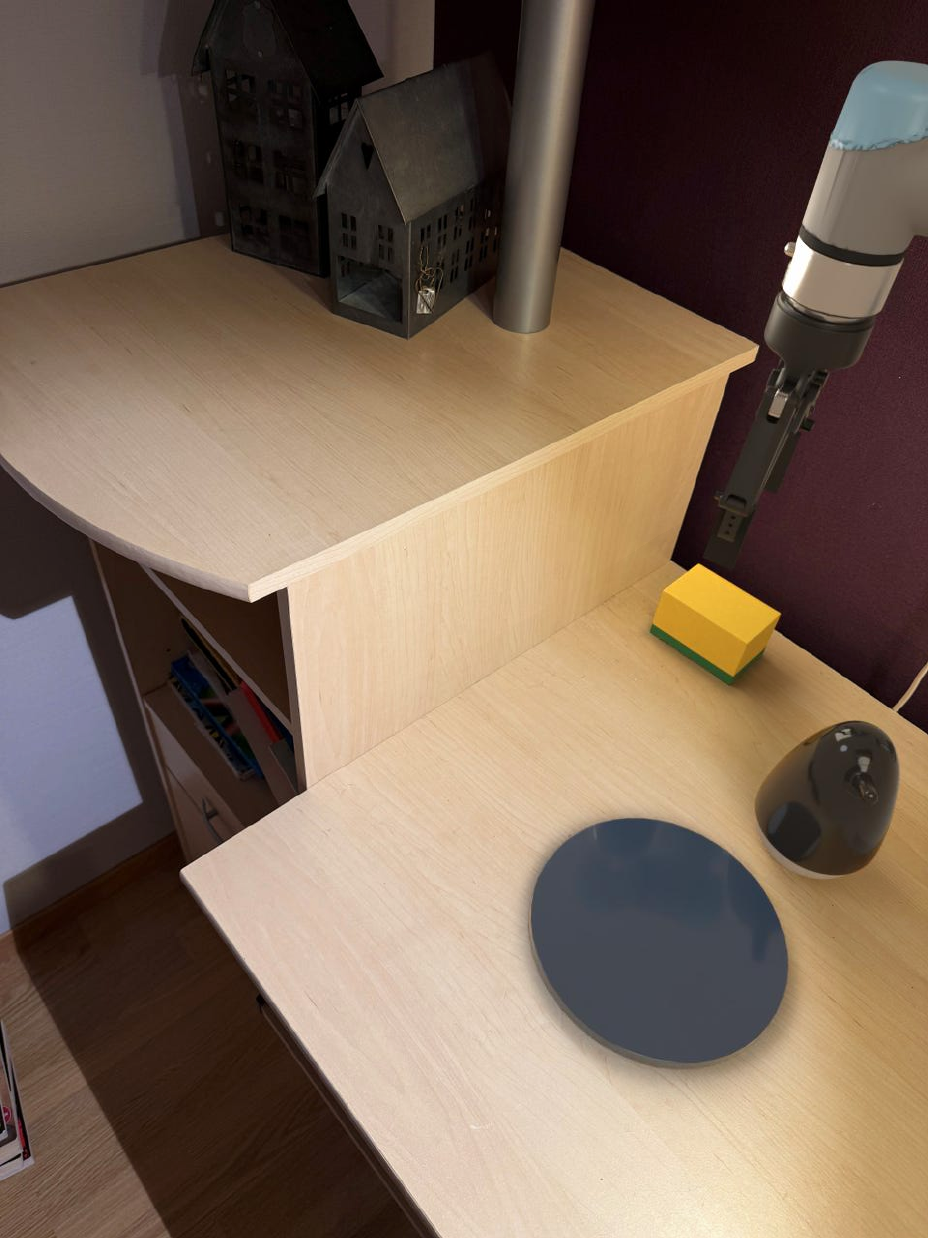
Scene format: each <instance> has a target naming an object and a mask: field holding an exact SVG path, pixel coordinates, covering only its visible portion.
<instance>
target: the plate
mask: <svg viewBox="0 0 928 1238" xmlns="http://www.w3.org/2000/svg"><path fill="white" fill-rule="evenodd" d="M529 904H530V905H529V911H528V933H529V934H528V935H529V943H530V948H531V952H532V957H533V959H534V962H535V966H536V969H537V971H538V973H539V975H540V978H541V979H542V981H543V983H544V985H545V987H546V989H547V991H548V993H549V994H550V996H551V997H552V998H553V1000H554V1001H555V1002H556V1004H557V1005H558V1008H560V1009H561V1011H562V1012H563V1013H564V1014H565V1015H566V1016H567V1017H568V1018H569V1019H570V1021H571V1022H572V1023H573V1024H574V1025H576V1026H577V1027H578V1028H579V1029H580V1030H581V1031H582V1032H583V1033H584V1034H586V1035H587V1036H588V1037H590V1038H591V1039H592V1040H594V1041H595V1042H597V1043H598V1044H600V1045H601V1046H603V1047H604V1048H606V1049H608V1050H610V1051H612V1052H614V1053H615V1054H617V1055H618V1056H621V1057H624V1058H626V1059H629V1060H631V1061H634V1062H636V1063H639V1064H644V1065H646V1066H647V1065H648V1066H652V1067H656V1068H664V1069H672V1070H689V1069H690V1070H692V1069H693V1070H694V1069H698V1068H706V1067H710V1066H713V1065H716V1064H719V1063H722V1062H726V1061H728V1060H729V1059H732V1058H733V1057H735V1056H737V1055H739V1054H741V1053H742V1052H744V1051H745V1050H746V1049H747V1048H749V1047H750V1046H751V1045H753V1044H754V1043H755V1041H756V1040H757V1039H759V1038H760V1036H761V1035H762V1034H763V1033H764V1032H765V1031H766V1029H767V1028H768V1027H769V1026H770V1024H771V1023H772V1021H773V1020H774V1018H775V1016H776V1015H777V1013H778V1011H779V1008H780V1007H781V1004H782V1001H783V999H784V997H785V991H786V988H787V984H788V975H789V974H788V973H789V960H788V959H789V958H788V947H787V942H786V937H785V933H784V930H783V927H782V924H781V920H780V918H779V916H778V914H777V911H776V909H775V907H774V904H773V903H772V901H771V899H770V898H769V896H768V894H767V893H766V891H765V890H764V888H763V886H762V885H761V884H760V883H759V882H758V880H757V879H756V877H755V876H754V875H753V874H752V873H751V872H750V871H749V870H748V869H747V867H746V866H745V865H744V864H742V862H740V861H739V859H737V858H736V857H735V856H734V855H732V854H731V853H730V852H729V851H727V850H726V849H724V847H722V846H721V845H719V844H718V843H716V842H714V841H713V840H711V839H710V838H708V837H706V836H704V835H702V834H700V833H698V832H697V831H694V830H691V829H690V828H688V827H684V826H681V825H678V824H676V823H673V822H668V821H665V820H659V819H653V818H647V817H646V818H645V817H624V818H615V819H609V820H605V821H601V822H597V823H594V824H593V825H592V824H591V825H590V826H587V827H584V828H583V829H581V830H580V831H578V832H576V833H574V834H572V835H571V836H570V837H568V838H567V839H566V840H565V841H563V842H562V843H560V845H558V846H557V848H556V849H555V850H554V851H552V853H551V855H550V856H549V857H548V859H547V860H546V862H545V863H543V867H542V868H541V870H540V872H539V874H538V876H537V879H536V882H535V884H534V888H533V891H532V895H531V898H530V903H529Z"/></svg>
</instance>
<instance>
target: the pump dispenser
mask: <svg viewBox="0 0 928 1238" xmlns="http://www.w3.org/2000/svg"><path fill="white" fill-rule="evenodd" d="M899 759H900V758H899V755H898V752H897V748H896V746H895V744H894V742H893V740H892V738H891V737H890V736H889V734H887V733H886V731H884V730H882V729H881V728H880V727H879V726H877V725H875V724H873V723H870V722H867V721H864V720H857V719H855V720H853V719H852V720H843V721H841V722H836V723H833V724H831V725H828V726H825V727H824V728H821V729H820V730H818V731H817V732H814V733H812V734H811V735H810V736H808V737H807V738H805V739H804V740H802V741H801V742H800V743H799V744H797V745H796V746H795V747H793V749H791V750H790V751H788V753H786V755H784V757H783V758H782V759H780V761H778V763H776V765H775V766H774V767H773V768H772V769H771V771H769V773H768V774H767V775H766V776H765V778H764V779H763V781H762V783H761V784H760V786H759V788H758V790H757V791H756V795H755V798H754V815H755V825H756V829H757V833H758V836H759V838H760V840H761V843H762V844H763V846H764V848H765V849H766V851H767V852H768V854H769V855H770V857H772V859H774V860H775V861H776V862H777V863H778V864H779V865H781V866H782V867H783V868H785V869H787V871H790V872H792V873H794V874H796V875H798V876H801V877H804V878H809V879H813V880H832V879H838V878H841V877H845V876H846V875H851V874H855V873H857V872H859V871H861V870H863V869H865V867H867V866H868V865H869V864H870V863H871V862H872V861H873V860H874V858H875V857H876V856H877V854H878V852H879V851H880V849H881V847H882V845H883V843H884V841H885V839H886V836H887V833H888V831H889V829H890V826H891V824H892V820H893V816H894V814H895V810H896V805H897V800H898V795H899V789H900V783H901V782H900V779H901V770H900V769H901V767H900V760H899Z"/></svg>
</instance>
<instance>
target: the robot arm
mask: <svg viewBox="0 0 928 1238" xmlns="http://www.w3.org/2000/svg"><path fill="white" fill-rule="evenodd" d="M914 236H921V237H926V238H928V64H926V63H921V62H914V61H905V60H883V61H878V62H875V63H871V64H869V65H867V66H866V67H864V68H863V69H862V70H861V71H860V72H859V73H857V75H856V77H855V79H854V80H853V81H852V84H851V86H850V89H849V92H848V94H847V97H846V99H845V102H844V104H843V106H842V109H841V111H840V114H839V116H838V119H837V121H836V124H835V127H834V129H833V131H831V133H830V137H829V141H828V144H827V146H826V150H825V153H824V157H823V158H822V162H821V165H820V168H819V172H818V174H817V178H816V180H815V182H814V187H813V190H812V192H811V196H810V198H809V201H808V205H807V208H806V210H805V214H804V217H803V220H802V223H801V225H800V229H799V231H798V236H797V238H796V241H795V242H793V241H789V242H787V244H786V245H785V247H784V250H783V251H784V253H785V255H786V256H788V257H791V260H790V261H789V263H788V265H787V267H786V270H785V274H784V276H783V279H782V282H781V287H782V289H783V290H781V291H779V292H778V293H777V295H776V296H775V299H774V303H773V305H772V308H771V311H770V313H769V317H768V319H767V323H766V326H765V329H764V332H763V336H764V341H765V343H766V345H767V347H768V348H769V349H770V350H771V351H772V352H773V353H775V354H777V355H778V356H779V358H780V360H779V363H778V364H777V367H776V368H772V371H771V373H770V375H769V377H768V380H767V381H766V385H765V387H766V389H764V391H763V393H762V396H763V397H762V400H761V402H760V404H759V406H758V408H757V410H756V412H755V418H754V421H753V423H752V425H751V428H750V429H749V432H748V434H747V437H746V439H745V441H744V444H743V445H742V448H741V450H740V453H739V456H738V458H737V461H736V462H735V465H734V467H733V470H732V472H731V474H730V475H729V480H728V481H727V483H726V485H725V488H724V491H723V492H722V491H720V490H716V492H715V494H714V497H713V498H714V499H715V500H718V503H717V506H718V507H720V508H719V511H718V514H717V516H716V519H715V522H714V524H713V527H712V530H711V533H710V535H709V538H708V540H707V544H706V547H705V549H704V552H703V555H702V559H704V560H706V561H709V562H712V563H713V564H717V565H719V566H722V567H724V568H726V569H729V570H731V571H732V570H733V569H734V567H735V566H736V563H737V560H738V558H739V555H740V553H741V551H742V549H743V545H744V542H745V540H746V538H747V535H748V532H749V530H750V528H751V525H752V523H753V520H754V517H755V515H756V513H757V510H758V509H759V505H758V501H759V499H760V497H761V495H762V492H763V491H766V492H769V493H771V494H773V495H777V494H778V493H779V491H780V489H781V486H782V484H783V482H784V479H785V477H786V474H787V472H788V470H789V467H790V464H791V463H792V459H793V457H794V454H795V453H796V450H797V447H798V445H799V443H800V440H801V437H802V435H803V432H800V431H798V430H801V431H804V432H807V433H809V434H810V433H812V430H813V428H814V426H815V423H816V420H815V419H812V418H809V416H811V414H812V413H814V410H815V409H816V406H815V405H816V402H817V400H818V397H819V395H820V394H821V391H823V389H824V387H825V385H826V383H827V381H828V379H829V376H830V371H839V370H844V369H848V368H850V367H852V366H854V365H855V364H857V363H858V361H859V360H860V359H861V358H862V354H863V352H864V351H865V347H866V345H867V343H868V341H869V338H870V336H871V333H872V331H873V329H874V326H875V324H876V323H877V322H876V316H875V315H877V314H878V313H880V312H881V311H882V310H883V308H884V305H885V304H886V301H887V299H888V296H889V294H890V293H891V292H890V291H891V289H892V287H893V285H894V282H895V280H896V278H897V276H898V273H899V271H900V269H901V267H902V265H903V263H904V260H905V255H906V253H907V250H908V247H909V246H910V244H911V242H912V240H913V238H914Z"/></svg>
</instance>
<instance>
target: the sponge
mask: <svg viewBox="0 0 928 1238" xmlns="http://www.w3.org/2000/svg"><path fill="white" fill-rule="evenodd" d="M781 616H782V613H781V612H779V611H777V610H776V609H774V608H773V607H771V606H769V605H768V604H766V603H764V602H763V601H761V600H760V599H758V598H756V597H754V596H753V595H751V594H750V593H748V592H747V591H745V590H743V589H742V588H740V587H738V586H736V585H735V584H733V583H732V582H730V581H728V580H727V579H725V578H723V577H722V576H720V575H718V574H717V573H716V572H714V571H712V570H710V569H708V568H707V567H705V566H704V565H702V564H700V563H697V564H696V565H694V566H693V567H692V568H691V569H689V570H688V571H687V572H685V573H684V574H682V575H681V576H680V577H679V578H677V579H676V580H675V581H674V582H672V583H670V585H668V586H667V587H666V588H665V589H663V591H662V593H661V596H660V600H659V602H658V606H657V609H656V611H655V614H654V617H653V620H652V623H651V625H650V629H649V632H650V633H651V634H652V635H654V636H655V637H656V638H658V639H660V640H661V641H663V642H664V643H665V644H666V645H669V646H670V647H672V648H673V649H675V650H676V651H678V652H679V653H681V655H684V656H685V657H687V658H688V659H690V660H691V661H693V663H695V664H696V665H698V666H700V667H701V668H703V669H704V670H706V671H708V672H709V673H710V674H712V675H714V676H715V677H717V678H718V679H719V680H721V681H722V682H723V683H725V684H727V685H728V686H731V685H732V684H733V683H734V681H736V680H737V679H738V678H739V677H740V676H741V675H743V673H744V672H745V671H746V670H747V669H748V668H749V667H751V666H752V665H753V664H754V663H755V662H756V661H757V660H758V659H759V658H761V656H763V655H764V652H765V650H766V648H767V645H768V643H769V641H770V639H771V637H772V635H773V633H774V631H775V628H776V626H777V624H778V622H779V620H780V617H781Z"/></svg>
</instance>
